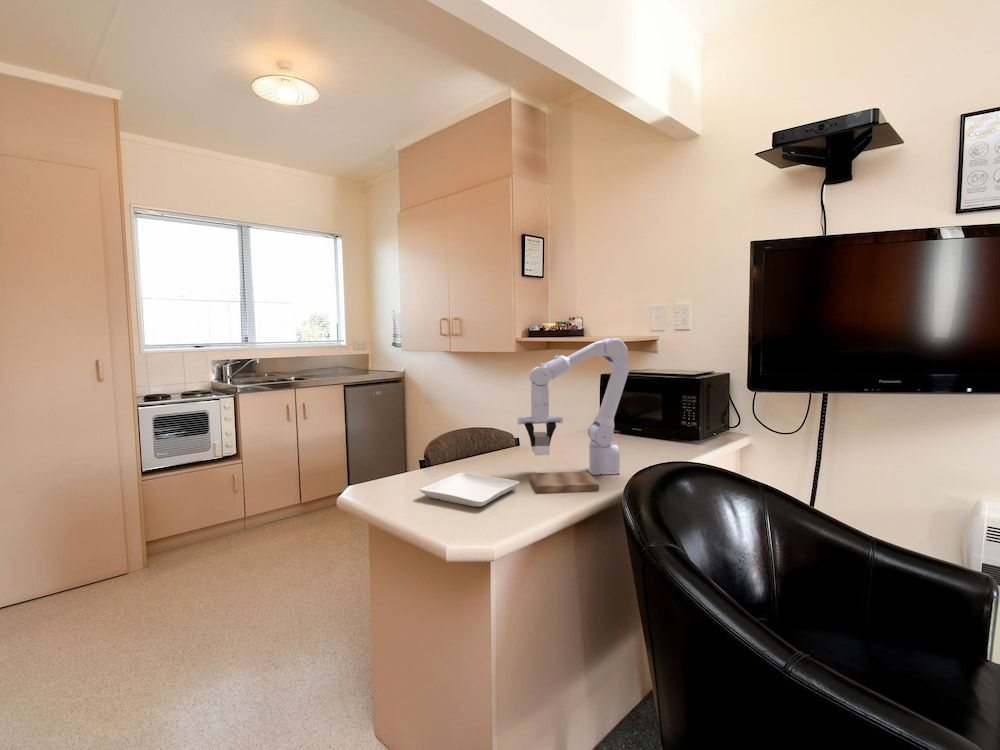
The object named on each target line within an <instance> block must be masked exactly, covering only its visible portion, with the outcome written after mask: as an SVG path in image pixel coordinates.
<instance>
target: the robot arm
mask: <svg viewBox="0 0 1000 750" xmlns="http://www.w3.org/2000/svg"><path fill="white" fill-rule="evenodd" d="M628 350H629V348H628V346H627V345H626V344H625V342H624V341H623V340H622V339H621V338H618V337H613V338H610V337H606V338H603V339H602V340H598V341H595V342H593V343H590V344H589V345H587V346H584V347H583V348H581V349H579V350H577V351H576V352H573V353H572V354H570V355H568V356H565V355H562V354H561V355H555V356H554V357H553V359H552V360H549V361H547V362H541V364H540V365H541V366H536V367H533V368H532V369H531V371H530V373H529V375H528V376H529V377H528V378H529V380H530V381H531V385H530V386H531V387H530V389H531V390H530V408H531V409H530V413H531V414H530V415H531V416H526V417H525V416H524V417H517V424H518V426H519V425H524V427H525V429H526V431H527V434H528V436H529V439H530V446H531V448H532V447H533V446H534V432H535V431H534V430H535V427H534V425H537V424H541V425H542V424H545V426H546V427H545V428H546V433H547V434H548V435H549V437H550V440H549V447H550V446H551V441H552V437H553V435H554V432H555V430H556V428H557V424H563V422H564V417H563V416H550V405H549V404H550V399H549V398H550V394H549V393H550V391H549V383H550V381H551V380H552V381H553V380H555V379H557V378H558V377H561V376H563V375H564V374H566V373H568V372H570V371H571V368H572V366H574V365H576V364H578V363H581V362H583V361H585V360H587V359H589V358H591V357H594V356H602V357H603V358H604V359H605V360H607V362H608V364H609V366H610V367H611V368H612V370H611V373H610V375H609V376H610V377H609V379H608V382H607V386H606V389H605V393H604V395H603V398H602V402H601V404H600V407H599V411H598V413H597V415H595V417H594V419H593V421H592V423H591V424H590V425H589V427H588V428H587V436H588V438H589V439H590V441H589V448H588V449H589V455H588V457H589V466H588V467H587V466H586V467H585V470H586V471H587V472H588V473H589V474H590V475H591V476H592V475H593V476H596V475H597V476H598V475H600V474H601V475H618V474H617V473H620V474H621V472H620V466H621V465H620V462H621V461H620V454H621V453H620V449H619V446H618V445H617V444H613V441H614V439H615V436H614V435H615V434H614V430H615V416H616V414H617V410H618V407H619V404H620V401H621V397H622V394H623V391H624V388H625V384H626V382H627V378H628V376H629V373H630V369H631V364H630V358H629V353H628Z"/></svg>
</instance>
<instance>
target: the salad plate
mask: <svg viewBox="0 0 1000 750" xmlns="http://www.w3.org/2000/svg"><path fill="white" fill-rule="evenodd" d="M519 484H520V481H519V480H515V479H508V478H501V477H496V476H491V475H485V474H477V473H471V472H470V473H469V472H459V473H455V474H453V475H451V476H448V477H445V478H442V479H441V480H438V481H436V482H432V483H431V484H428V485H426V486H424V487H420V488H419V491H420V492H421V493H422V494H424V495H425V496H426V497H428V498H429V497H430V498H432V499H436V500H438V499H440V500H439V501H442V500H444V501H443V502H447V501H449V502H448V503H452V502H453V504H457V503H458V505H462V504H463V506H467V505H468V507H476V508H478V507H483V506H486V504H489V503H490V502H492V501H494V500H496V499H498V498H499V497H501V496H503V495H505V494H507V493H509V492H510V491H512V490H514V489H515V488H516V487H517V486H519Z"/></svg>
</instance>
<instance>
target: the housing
mask: <svg viewBox="0 0 1000 750" xmlns="http://www.w3.org/2000/svg"><path fill="white" fill-rule="evenodd" d="M549 440H550V437H549V435H548V434H547V431H534V446H533V447H532V446H531V451H532V453H533V454H534V455H535V456H550V446H549Z"/></svg>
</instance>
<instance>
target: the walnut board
mask: <svg viewBox="0 0 1000 750" xmlns="http://www.w3.org/2000/svg"><path fill="white" fill-rule="evenodd" d="M530 481H531V483H532V485H533V488H534V489H535V491H536V494H553V493H554V494H555V493H558V492H559V493H579V492H580V493H582V492H581V491H584V492H599V491H600V483H599V482H598V481H597V480H596V479H595V478H594V477H593V476H592V474H591V473H590V472H589V471H588V470H584V471H583V470H582V471H580V470H579V471H562V472H561V471H560V472H559V471H557V472H556V471H553V472H532V473H530ZM598 490H599V491H598ZM559 493H558V494H559Z"/></svg>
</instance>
